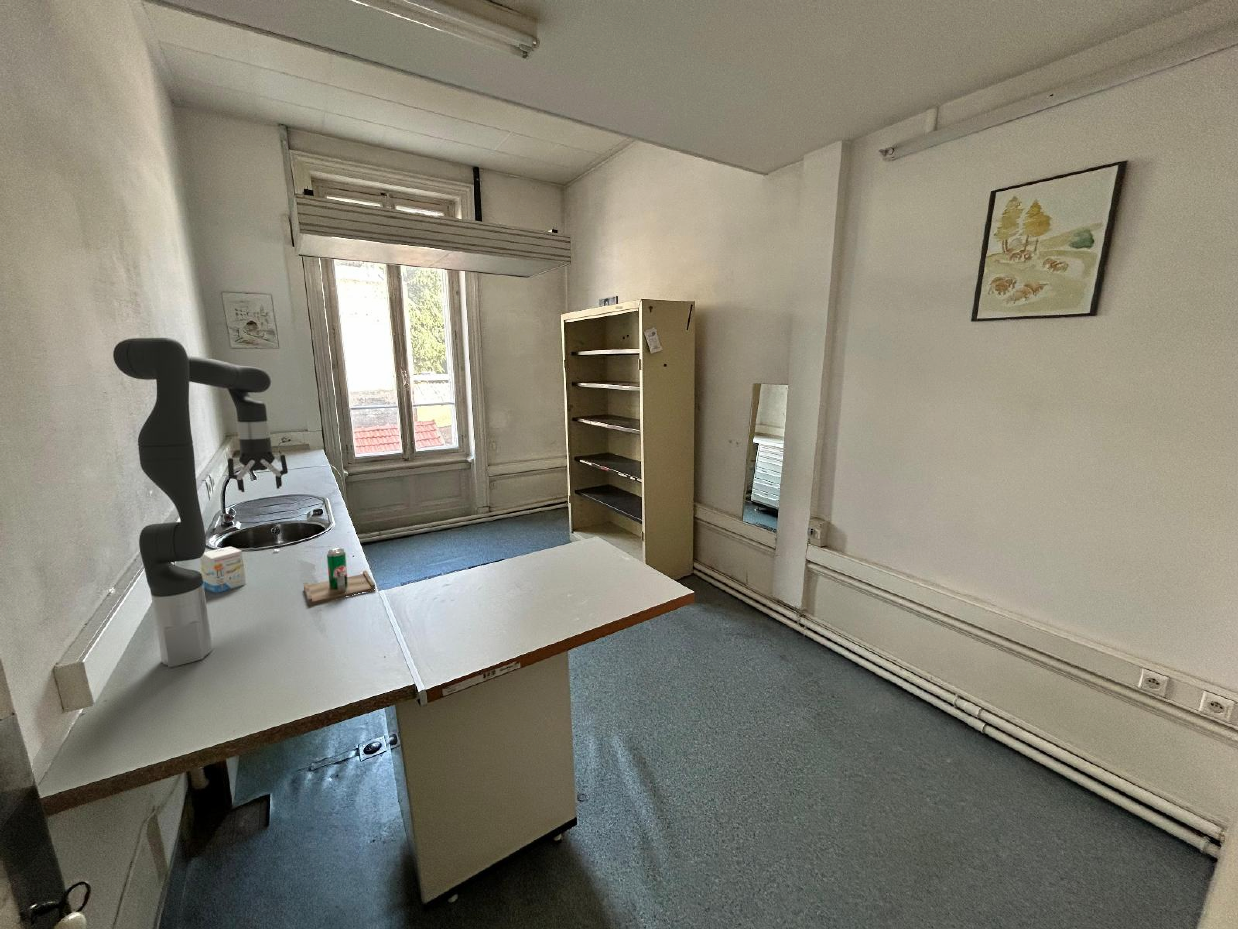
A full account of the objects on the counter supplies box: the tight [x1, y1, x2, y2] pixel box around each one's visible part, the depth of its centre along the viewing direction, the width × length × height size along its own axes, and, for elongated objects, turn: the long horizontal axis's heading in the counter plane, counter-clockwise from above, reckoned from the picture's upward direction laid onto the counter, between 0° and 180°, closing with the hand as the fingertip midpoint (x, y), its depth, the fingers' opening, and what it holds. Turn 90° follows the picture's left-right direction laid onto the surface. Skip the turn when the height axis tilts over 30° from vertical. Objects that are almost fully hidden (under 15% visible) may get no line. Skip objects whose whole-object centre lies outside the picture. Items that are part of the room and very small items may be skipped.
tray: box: [303, 570, 376, 607], centre depth 153 cm, size 14×18×6 cm
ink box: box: [199, 546, 247, 594], centre depth 155 cm, size 9×8×12 cm
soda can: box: [326, 548, 348, 589], centre depth 152 cm, size 5×5×12 cm
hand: (261, 490), depth 146 cm, fingers open, 8 cm apart
